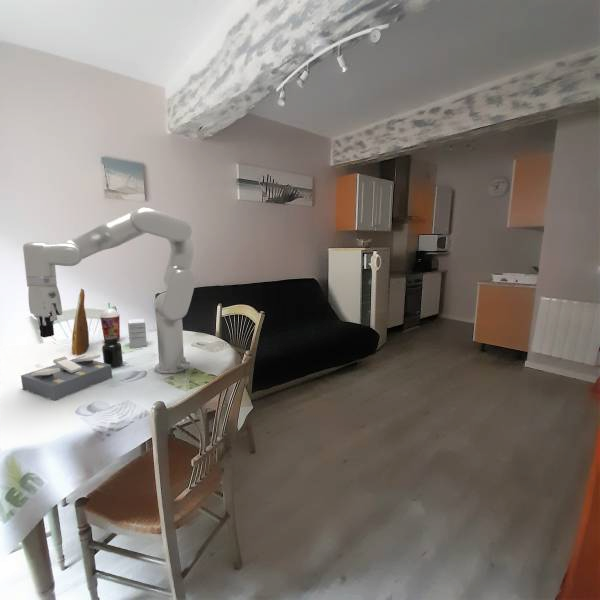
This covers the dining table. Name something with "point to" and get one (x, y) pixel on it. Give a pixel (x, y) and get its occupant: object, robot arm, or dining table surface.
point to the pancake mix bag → (80, 328)
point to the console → (66, 379)
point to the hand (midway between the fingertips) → (47, 336)
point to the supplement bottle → (112, 352)
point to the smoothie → (110, 322)
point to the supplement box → (137, 333)
